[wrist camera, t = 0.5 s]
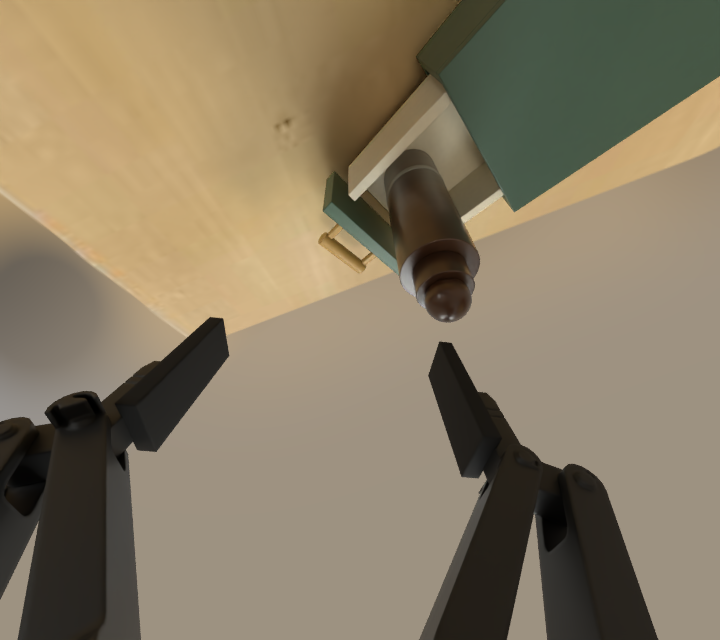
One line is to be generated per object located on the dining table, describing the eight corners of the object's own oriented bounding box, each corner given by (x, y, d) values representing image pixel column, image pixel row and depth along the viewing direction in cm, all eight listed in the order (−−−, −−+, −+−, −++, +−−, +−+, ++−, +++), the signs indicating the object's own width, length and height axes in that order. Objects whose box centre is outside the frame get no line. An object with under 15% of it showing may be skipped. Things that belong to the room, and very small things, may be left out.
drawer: (370, 262, 34) (373, 295, 31) (303, 207, 28) (295, 240, 24) (501, 157, 25) (530, 186, 21) (442, 41, 19) (467, 51, 15)
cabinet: (483, 172, 27) (514, 212, 22) (415, 56, 20) (438, 75, 15) (673, 21, 19) (792, 28, 14) (669, -256, 12) (899, -441, 7)
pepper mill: (378, 157, 24) (400, 295, 13) (435, 140, 23) (511, 273, 12) (388, 208, 28) (411, 348, 16) (436, 196, 27) (495, 335, 16)
